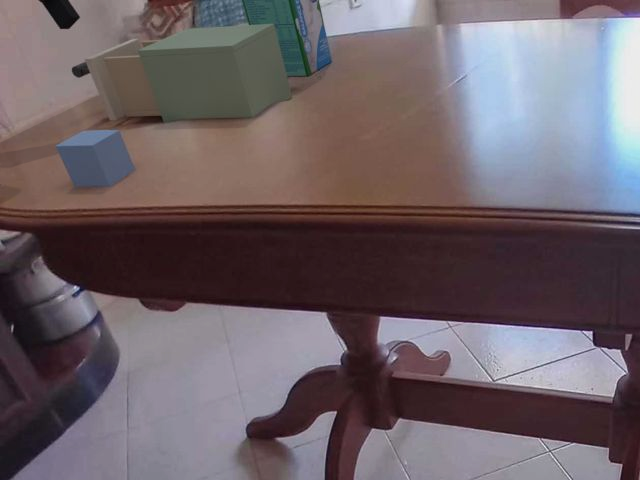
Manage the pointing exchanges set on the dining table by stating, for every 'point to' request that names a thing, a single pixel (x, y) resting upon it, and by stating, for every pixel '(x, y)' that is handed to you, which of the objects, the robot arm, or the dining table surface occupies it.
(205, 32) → the cabinet
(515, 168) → the dining table surface
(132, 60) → the drawer
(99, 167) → the block
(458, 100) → the dining table surface
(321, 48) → the milk carton
